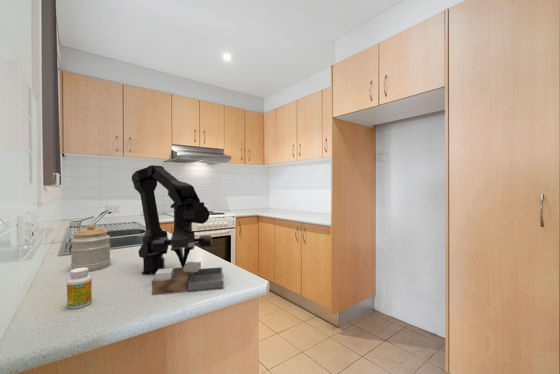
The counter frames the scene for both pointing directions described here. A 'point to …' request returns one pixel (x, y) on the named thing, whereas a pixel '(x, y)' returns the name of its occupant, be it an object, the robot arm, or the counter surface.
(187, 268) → the tile
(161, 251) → the robot arm
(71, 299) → the supplement bottle
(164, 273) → the tile
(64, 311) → the counter surface
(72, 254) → the jar
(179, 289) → the brown wooden block
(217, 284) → the tray
